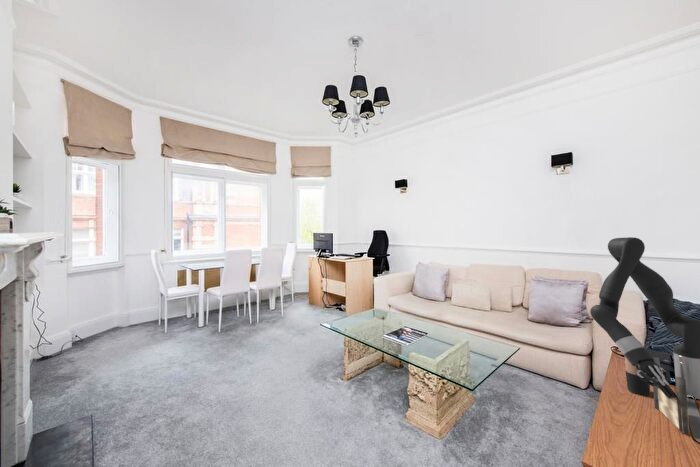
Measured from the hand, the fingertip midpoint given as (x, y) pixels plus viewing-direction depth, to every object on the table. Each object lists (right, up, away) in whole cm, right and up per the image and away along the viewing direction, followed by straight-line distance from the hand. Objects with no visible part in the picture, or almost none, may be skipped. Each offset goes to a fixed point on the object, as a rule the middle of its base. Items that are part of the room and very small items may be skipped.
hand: (673, 397), depth 104 cm
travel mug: (+13, -12, +26) cm, 31 cm away
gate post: (+9, -12, +13) cm, 20 cm away
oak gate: (+5, -11, +4) cm, 13 cm away
